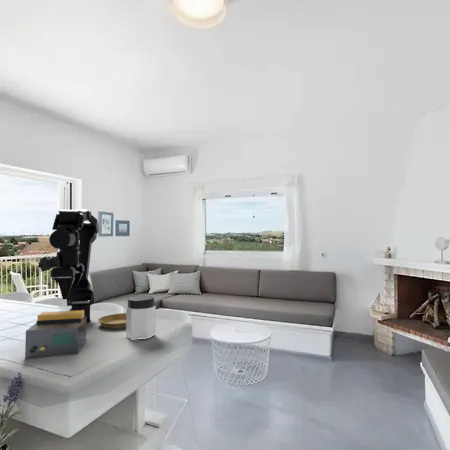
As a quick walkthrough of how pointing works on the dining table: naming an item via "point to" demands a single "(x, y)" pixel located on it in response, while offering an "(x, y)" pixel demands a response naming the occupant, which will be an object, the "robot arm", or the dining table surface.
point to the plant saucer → (113, 321)
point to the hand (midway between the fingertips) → (68, 296)
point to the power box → (55, 337)
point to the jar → (140, 317)
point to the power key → (61, 315)
